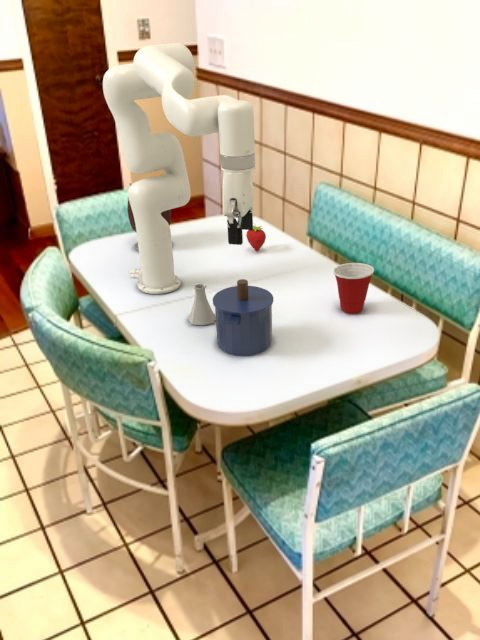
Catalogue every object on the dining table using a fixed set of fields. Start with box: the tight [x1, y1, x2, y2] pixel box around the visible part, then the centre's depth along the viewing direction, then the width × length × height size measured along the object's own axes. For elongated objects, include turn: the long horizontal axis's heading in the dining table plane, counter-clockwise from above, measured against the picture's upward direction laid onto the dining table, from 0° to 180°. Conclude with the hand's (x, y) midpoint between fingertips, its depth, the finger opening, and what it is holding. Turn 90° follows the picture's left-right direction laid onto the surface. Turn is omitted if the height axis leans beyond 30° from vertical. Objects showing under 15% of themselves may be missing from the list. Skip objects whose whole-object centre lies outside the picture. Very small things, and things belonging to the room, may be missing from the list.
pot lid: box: [212, 278, 274, 315], centre depth 152 cm, size 15×15×6 cm
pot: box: [214, 304, 273, 357], centre depth 156 cm, size 14×19×12 cm
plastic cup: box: [332, 262, 375, 315], centre depth 170 cm, size 11×11×12 cm
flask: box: [188, 282, 216, 326], centre depth 167 cm, size 7×7×10 cm
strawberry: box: [245, 224, 267, 252], centre depth 207 cm, size 6×8×10 cm
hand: (241, 236), depth 147 cm, fingers open, 9 cm apart
